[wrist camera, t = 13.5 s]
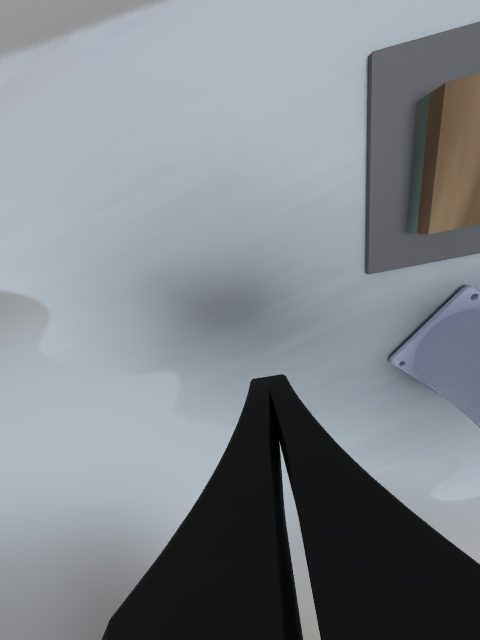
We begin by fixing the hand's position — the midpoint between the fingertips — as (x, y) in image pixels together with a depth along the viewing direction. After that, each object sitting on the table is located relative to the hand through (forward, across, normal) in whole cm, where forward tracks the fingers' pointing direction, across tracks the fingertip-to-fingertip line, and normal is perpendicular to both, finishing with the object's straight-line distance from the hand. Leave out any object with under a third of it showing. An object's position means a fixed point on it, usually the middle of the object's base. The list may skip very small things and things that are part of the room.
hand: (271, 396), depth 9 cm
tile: (+8, -11, -7) cm, 16 cm away
